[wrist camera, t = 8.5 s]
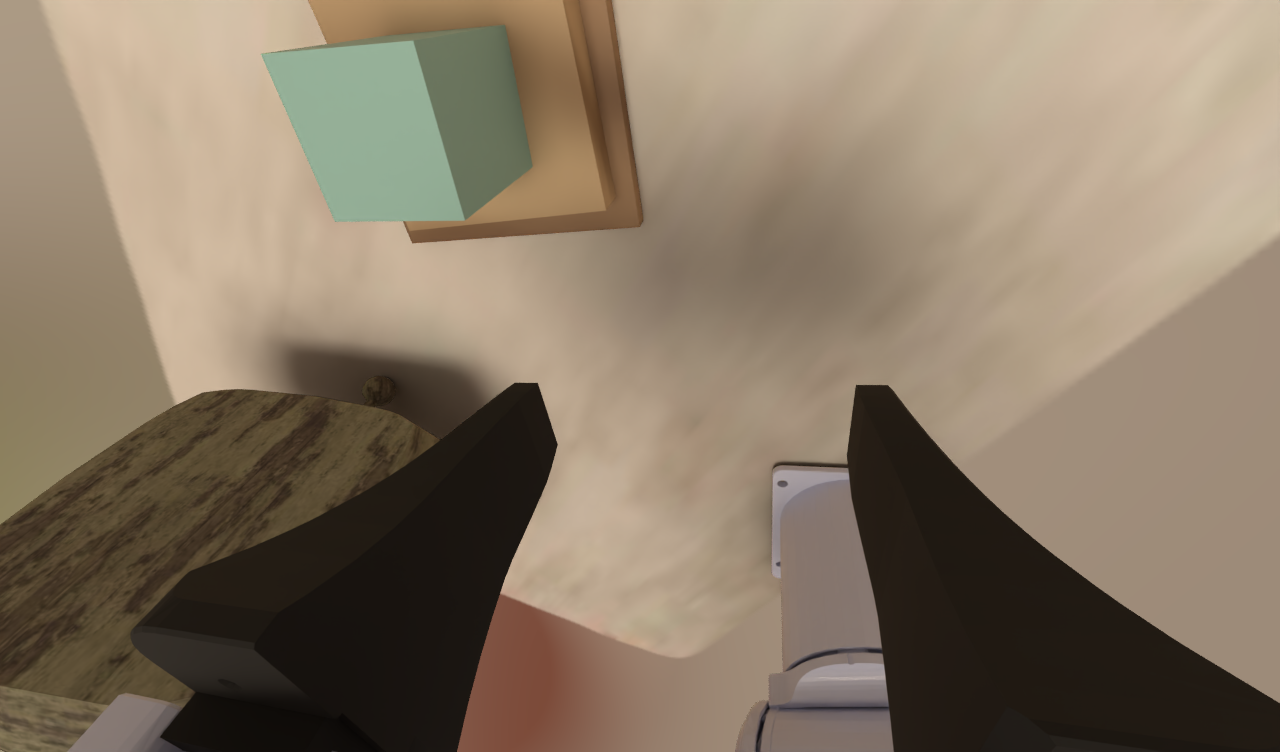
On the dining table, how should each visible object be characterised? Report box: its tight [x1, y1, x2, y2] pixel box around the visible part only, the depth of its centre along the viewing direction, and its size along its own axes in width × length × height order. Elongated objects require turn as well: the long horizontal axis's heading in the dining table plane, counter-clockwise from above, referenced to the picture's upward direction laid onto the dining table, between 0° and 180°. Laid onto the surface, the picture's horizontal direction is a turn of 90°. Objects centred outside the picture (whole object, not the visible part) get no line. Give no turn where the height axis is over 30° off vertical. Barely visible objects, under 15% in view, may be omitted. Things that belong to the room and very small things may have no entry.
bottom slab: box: [403, 0, 643, 243], centre depth 18 cm, size 10×10×2 cm
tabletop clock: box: [0, 376, 440, 752], centre depth 20 cm, size 14×9×25 cm, turn 90°
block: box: [261, 25, 533, 222], centre depth 15 cm, size 4×4×5 cm
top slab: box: [308, 0, 616, 231], centre depth 17 cm, size 8×8×2 cm
